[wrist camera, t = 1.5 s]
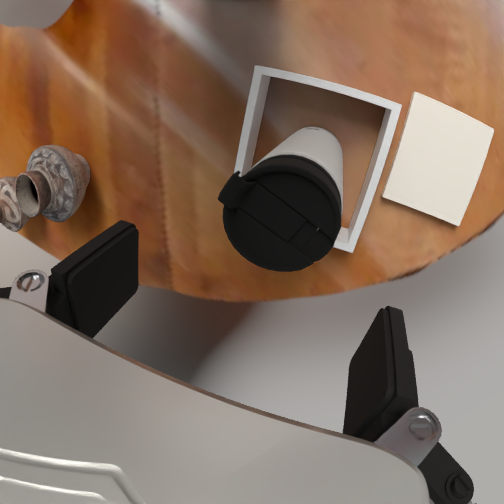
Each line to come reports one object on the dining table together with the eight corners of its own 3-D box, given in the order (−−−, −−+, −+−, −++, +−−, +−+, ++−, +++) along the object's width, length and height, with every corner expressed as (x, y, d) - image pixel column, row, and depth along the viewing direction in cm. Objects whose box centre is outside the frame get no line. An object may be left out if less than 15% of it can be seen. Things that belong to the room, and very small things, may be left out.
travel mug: (305, 112, 31) (258, 134, 14) (354, 151, 31) (368, 223, 15) (271, 156, 34) (193, 228, 17) (318, 193, 35) (289, 300, 18)
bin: (264, 68, 30) (255, 65, 26) (395, 103, 28) (401, 105, 24) (237, 202, 38) (226, 214, 34) (352, 236, 36) (352, 253, 33)
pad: (412, 91, 27) (414, 91, 26) (490, 128, 25) (494, 129, 24) (381, 194, 33) (382, 196, 32) (456, 222, 31) (458, 226, 31)
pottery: (12, 172, 47) (-35, 195, 37) (91, 125, 38) (26, 144, 28) (31, 225, 51) (-13, 254, 41) (114, 197, 43) (57, 232, 33)
